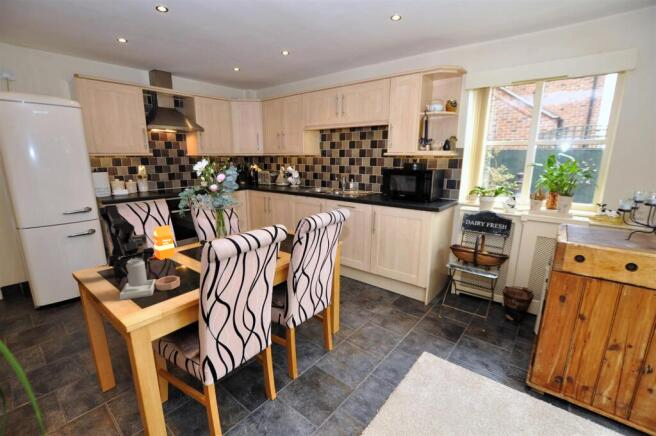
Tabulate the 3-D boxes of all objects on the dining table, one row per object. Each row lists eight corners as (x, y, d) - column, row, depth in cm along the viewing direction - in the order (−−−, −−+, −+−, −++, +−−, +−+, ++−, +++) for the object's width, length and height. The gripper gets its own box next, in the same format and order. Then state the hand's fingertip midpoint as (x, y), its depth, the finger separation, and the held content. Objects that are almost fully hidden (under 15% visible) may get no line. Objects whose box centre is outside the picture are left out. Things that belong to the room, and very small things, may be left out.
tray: (120, 300, 138) (119, 294, 137) (127, 288, 149) (126, 283, 149) (152, 295, 142) (151, 289, 142) (156, 284, 154) (155, 279, 153)
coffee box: (131, 263, 183) (128, 237, 179) (132, 260, 188) (129, 235, 185) (149, 261, 187) (145, 235, 183) (149, 258, 192) (146, 233, 189)
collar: (154, 291, 146) (154, 285, 145) (158, 283, 156) (157, 277, 155) (178, 288, 150) (178, 282, 149) (180, 280, 159) (179, 274, 159)
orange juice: (155, 257, 194) (151, 226, 190) (169, 253, 201) (166, 224, 196) (160, 259, 189) (156, 228, 185) (175, 256, 196) (171, 226, 191)
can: (134, 288, 140) (130, 264, 137) (125, 285, 144) (122, 261, 141) (150, 283, 146) (147, 259, 144) (142, 279, 150) (138, 256, 147)
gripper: (104, 239, 136) (115, 269, 131) (150, 231, 149) (161, 258, 144) (103, 252, 143) (113, 280, 138) (147, 243, 156) (157, 269, 151)
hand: (137, 271), depth 143 cm, fingers closed on can, 7 cm apart
